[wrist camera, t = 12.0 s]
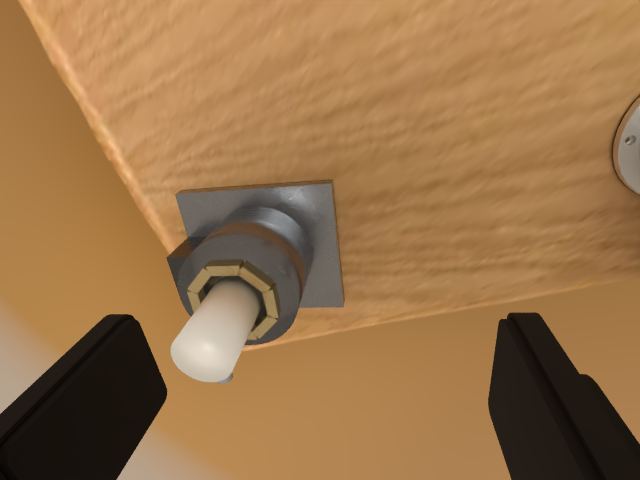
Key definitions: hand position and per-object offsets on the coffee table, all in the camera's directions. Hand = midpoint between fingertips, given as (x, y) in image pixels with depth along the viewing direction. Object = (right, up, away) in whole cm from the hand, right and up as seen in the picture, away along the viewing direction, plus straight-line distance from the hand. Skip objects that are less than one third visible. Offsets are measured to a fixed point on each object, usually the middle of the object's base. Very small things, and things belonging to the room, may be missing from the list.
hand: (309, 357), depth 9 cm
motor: (-6, +2, +34) cm, 35 cm away
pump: (-8, -2, +25) cm, 26 cm away
